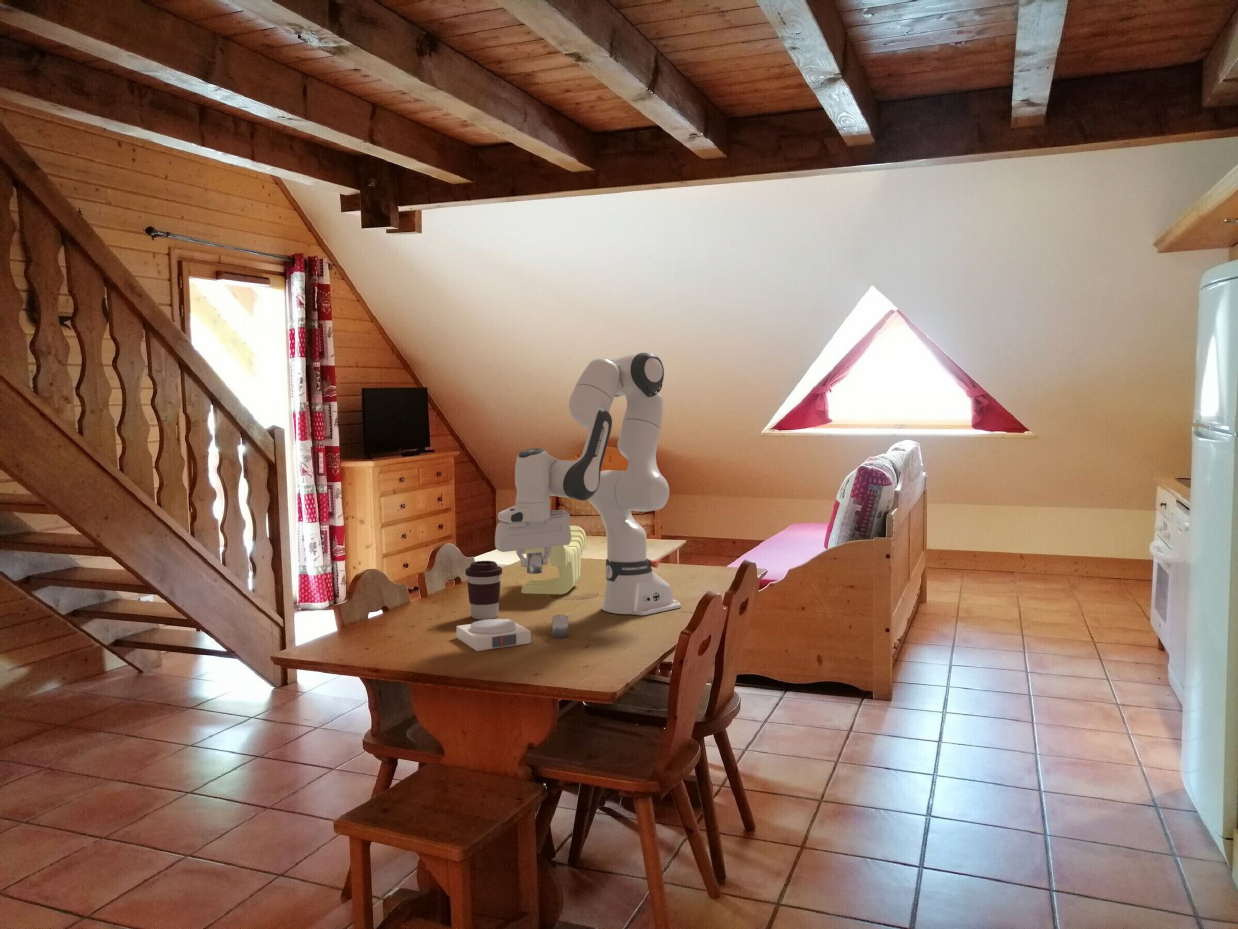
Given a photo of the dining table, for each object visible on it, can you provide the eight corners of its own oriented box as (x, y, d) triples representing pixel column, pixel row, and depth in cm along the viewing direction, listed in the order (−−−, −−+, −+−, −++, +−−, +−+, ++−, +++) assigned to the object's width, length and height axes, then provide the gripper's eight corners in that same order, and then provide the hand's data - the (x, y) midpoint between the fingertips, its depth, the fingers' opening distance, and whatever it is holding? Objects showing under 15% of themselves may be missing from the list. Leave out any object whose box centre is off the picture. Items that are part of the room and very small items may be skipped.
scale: (508, 630, 244) (508, 615, 243) (531, 643, 231) (531, 627, 231) (456, 637, 237) (456, 622, 236) (477, 651, 224) (477, 635, 224)
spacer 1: (538, 570, 247) (538, 551, 246) (545, 572, 243) (544, 553, 243) (524, 571, 245) (523, 552, 244) (530, 574, 241) (530, 555, 241)
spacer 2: (564, 633, 240) (563, 614, 240) (571, 637, 237) (570, 617, 236) (549, 635, 238) (549, 616, 238) (556, 639, 235) (556, 619, 234)
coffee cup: (468, 622, 252) (467, 567, 251) (464, 614, 262) (463, 560, 261) (505, 619, 255) (504, 564, 254) (500, 611, 264) (499, 558, 263)
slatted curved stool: (566, 600, 277) (565, 540, 276) (513, 599, 280) (512, 539, 279) (586, 580, 307) (586, 525, 305) (538, 579, 310) (538, 525, 308)
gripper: (564, 507, 250) (565, 559, 252) (491, 514, 240) (493, 567, 242) (574, 510, 245) (575, 563, 246) (501, 517, 235) (502, 571, 236)
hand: (534, 565), depth 244 cm, fingers closed on spacer 1, 4 cm apart
